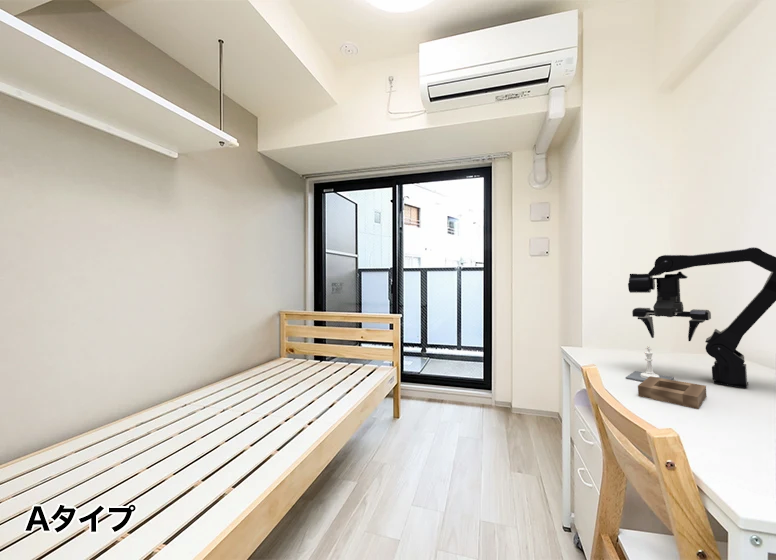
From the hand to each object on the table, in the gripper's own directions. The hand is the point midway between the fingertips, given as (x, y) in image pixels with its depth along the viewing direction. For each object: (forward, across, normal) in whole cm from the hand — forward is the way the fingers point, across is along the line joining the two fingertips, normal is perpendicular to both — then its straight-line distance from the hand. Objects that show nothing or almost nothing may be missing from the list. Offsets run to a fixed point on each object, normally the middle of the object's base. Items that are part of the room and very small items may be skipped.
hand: (670, 339), depth 103 cm
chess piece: (+12, -4, -9) cm, 15 cm away
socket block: (+12, +4, -23) cm, 26 cm away
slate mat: (+12, -4, -9) cm, 16 cm away
